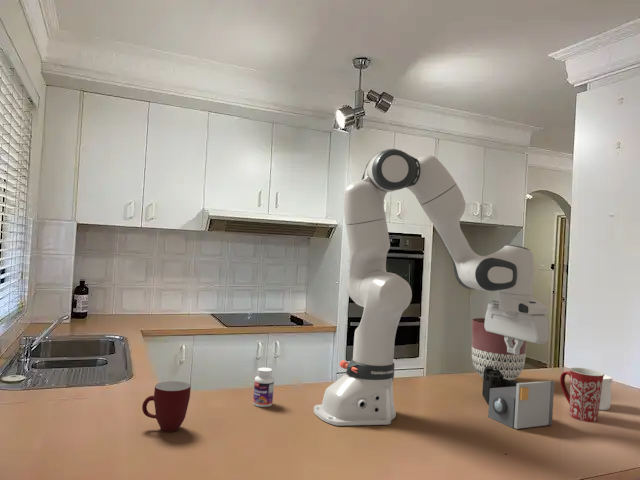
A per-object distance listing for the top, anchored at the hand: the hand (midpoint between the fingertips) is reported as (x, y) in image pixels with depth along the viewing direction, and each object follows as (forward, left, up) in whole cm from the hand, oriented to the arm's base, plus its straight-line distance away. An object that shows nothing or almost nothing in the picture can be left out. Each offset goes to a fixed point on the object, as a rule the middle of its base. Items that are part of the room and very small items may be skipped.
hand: (513, 353), depth 142 cm
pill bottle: (-62, +29, -19) cm, 71 cm away
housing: (+2, -1, -18) cm, 19 cm away
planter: (+28, +34, -19) cm, 47 cm away
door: (+2, -7, -18) cm, 19 cm away
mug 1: (-90, +17, -19) cm, 94 cm away
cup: (+39, +4, -19) cm, 43 cm away
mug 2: (+25, -2, -19) cm, 31 cm away
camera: (+11, +15, -19) cm, 26 cm away
